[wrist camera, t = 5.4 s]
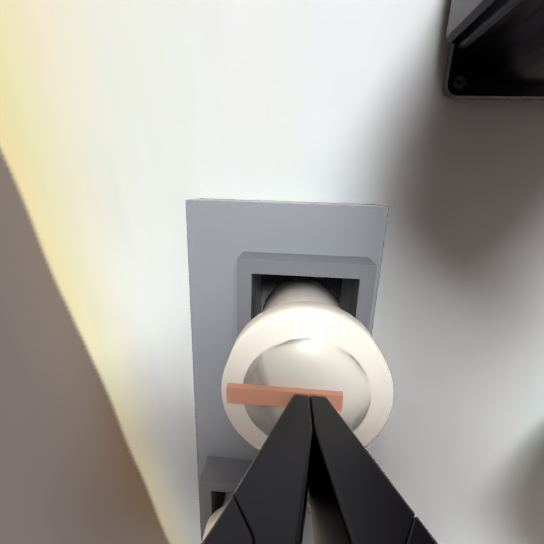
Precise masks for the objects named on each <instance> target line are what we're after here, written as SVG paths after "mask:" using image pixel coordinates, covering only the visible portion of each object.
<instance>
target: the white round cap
mask: <svg viewBox="0 0 544 544" xmlns="http://www.w3.org/2000/svg"><path fill="white" fill-rule="evenodd" d="M221 393H222V401H223V405H224V409H225V411H226V414H227V416H228V418H229V420H230V422H231V423H232V425H233V426H234V428H235V429H236V430H237V432H238V433H239V434H240V435H241V436H242V437H243V438H244V439H245V440H246V441H247V442H248V443H250V444H251V445H252V446H253V447H255V448H257V449H258V450H260V449H261V447H262V445H263V444H264V442H265V441H266V439H267V437H268V436H269V434H270V432H271V431H272V429H273V427H274V426H275V424H276V422H277V421H278V419H279V418H280V416H281V414H282V413H283V411H284V409H285V408H286V406H287V404H288V403H289V401H290V399H291V398H292V396H293V395H294V394H304V395H308V396H309V397H310V396H312V395H317V396H325V397H327V398H328V400H329V401H330V402H331V404H332V405H333V406H334V408H335V409H336V410H337V412H338V413H339V414H340V416H341V417H342V418H343V420H344V421H345V422H346V424H347V425H348V426H349V427H350V429H351V430H352V431H353V433H354V434H355V435H356V437H357V438H358V439H359V441H360V442H361V443H362V445H363V446H364V447H365V446H366V445H368V444H369V443H370V442H371V441H372V440H373V439H374V438H375V437H376V436H377V435H378V434H379V433H380V431H381V430H382V429H383V427H384V425H385V424H386V422H387V420H388V417H389V415H390V413H391V409H392V405H393V396H394V390H393V381H392V377H391V373H390V371H389V368H388V366H387V363H386V361H385V359H384V358H383V356H382V354H381V352H380V350H379V348H378V346H377V344H376V342H375V341H374V339H373V337H372V336H371V334H370V332H369V331H368V330H367V329H366V328H365V326H364V325H363V324H362V323H361V322H360V321H358V320H357V319H356V318H355V317H353V316H352V315H351V314H349V313H347V312H346V311H344V310H342V309H341V307H340V304H339V302H338V300H337V298H336V296H335V295H334V293H333V292H332V291H331V290H330V289H329V288H328V287H326V286H325V285H323V284H321V283H319V282H317V281H314V280H310V279H293V280H289V281H286V282H284V283H282V284H280V285H279V286H277V287H276V288H275V289H274V290H273V291H272V292H271V293H270V294H269V296H268V297H267V299H266V301H265V304H264V307H263V311H262V312H261V313H260V314H258V315H257V316H256V317H254V318H253V319H252V320H251V321H250V322H249V323H248V324H247V325H246V326H245V327H244V328H243V330H242V331H241V332H240V334H239V336H238V337H237V339H236V341H235V344H234V346H233V349H232V351H231V354H230V356H229V359H228V361H227V364H226V366H225V369H224V372H223V377H222V385H221Z"/></svg>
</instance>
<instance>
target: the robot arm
mask: <svg viewBox="0 0 544 544" xmlns="http://www.w3.org/2000/svg"><path fill="white" fill-rule="evenodd" d="M446 38H447V40H448V42H449V43H450V48H449V54H448V60H447V66H446V72H445V78H444V84H443V91H444V93H445V95H446V96H447V97H449V98H455V99H540V100H544V0H452V1H451V7H450V13H449V19H448V26H447V32H446ZM455 79H457V80H459V81H460V82H461V87H460V89H456V88H455V87H454V80H455ZM308 492H309V504H310V513H311V521H312V529H313V538H314V544H438V543H437V542H436V541H435V539H434V538H433V537H432V535H431V534H430V533H429V532H428V530H427V529H426V528H425V526H424V525H423V524H422V522H421V521H420V520H419V518H418V517H414V516H415V514H414V512H413V511H412V509H411V508H410V507H409V505H408V504H407V503H406V501H405V500H404V499H403V497H402V496H401V495H400V493H399V492H398V491H397V490H396V488H395V487H394V486H393V484H392V483H391V482H390V480H389V479H388V478H387V476H386V475H385V474H384V472H383V471H382V470H381V468H380V467H379V466H378V464H377V463H376V462H375V460H374V459H373V458H372V457H371V455H370V454H369V453H368V451H367V450H366V449H365V447H364V446H363V445H362V443H361V442H360V441H359V439H358V438H357V437H356V435H355V434H354V433H353V431H352V430H351V429H350V427H349V426H348V425H347V424H346V422H345V421H344V420H343V418H342V417H341V416H340V414H339V413H338V412H337V410H336V409H335V408H334V406H333V405H332V404H331V402H330V401H329V400H328V398H327V397H325V396H317V395H312V396H310V397H309V396H308V395H304V394H294V395H293V396H292V398H291V399H290V401H289V403H288V404H287V406H286V408H285V409H284V411H283V413H282V414H281V416H280V418H279V419H278V421H277V422H276V424H275V426H274V427H273V429H272V431H271V432H270V434H269V436H268V437H267V439H266V441H265V442H264V444H263V445H262V447H261V449H260V450H259V452H258V454H257V455H256V457H255V459H254V460H253V462H252V464H251V465H250V467H249V468H248V470H247V472H246V473H245V475H244V477H243V478H242V480H241V482H240V483H239V485H238V487H237V488H236V490H235V491H234V493H233V496H232V497H231V498H230V499H229V501H228V503H227V504H226V506H225V508H224V509H223V511H222V512H221V514H220V516H219V517H218V519H217V520H216V522H215V523H214V525H213V526H212V528H211V529H210V531H209V533H208V534H207V536H206V537H205V539H204V540H203V542H202V543H201V544H303V540H304V530H305V519H306V509H307V498H308Z"/></svg>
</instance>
